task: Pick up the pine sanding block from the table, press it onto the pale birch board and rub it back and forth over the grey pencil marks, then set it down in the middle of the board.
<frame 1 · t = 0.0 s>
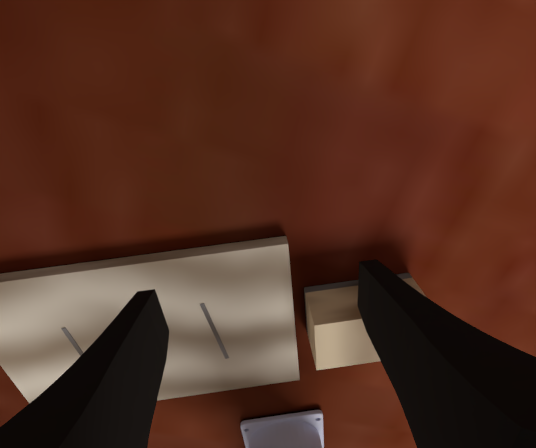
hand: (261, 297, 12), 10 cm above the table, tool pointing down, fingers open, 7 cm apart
sanding block: (354, 300, 27), on the table
birch board: (151, 331, 26), on the table
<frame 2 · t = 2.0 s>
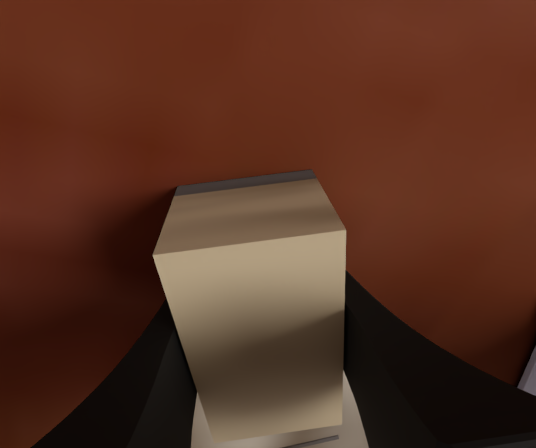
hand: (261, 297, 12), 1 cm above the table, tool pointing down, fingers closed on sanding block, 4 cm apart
sanding block: (258, 272, 13), on the table, touching gripper
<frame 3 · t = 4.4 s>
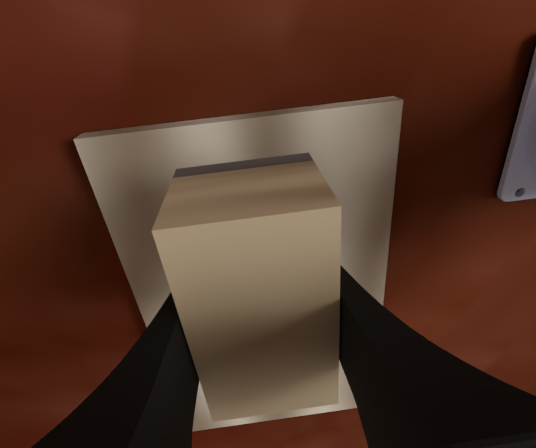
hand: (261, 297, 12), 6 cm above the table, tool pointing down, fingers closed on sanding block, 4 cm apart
sanding block: (256, 256, 13), point 5 cm above the table, touching gripper
birch board: (264, 298, 21), on the table
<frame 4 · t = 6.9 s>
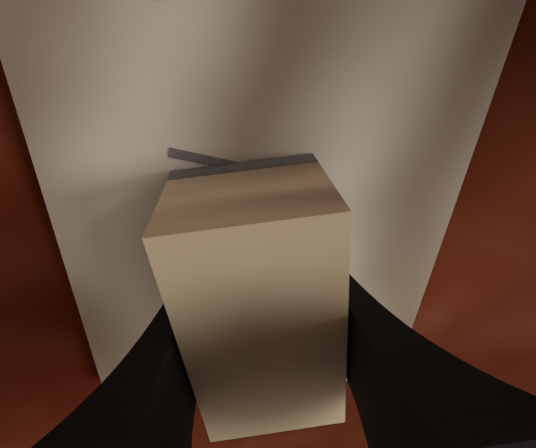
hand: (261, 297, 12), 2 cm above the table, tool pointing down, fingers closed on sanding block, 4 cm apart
sanding block: (256, 263, 13), point 1 cm above the table, touching gripper
birch board: (261, 158, 12), on the table
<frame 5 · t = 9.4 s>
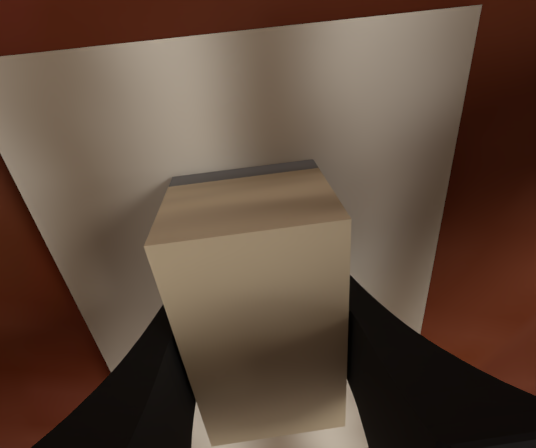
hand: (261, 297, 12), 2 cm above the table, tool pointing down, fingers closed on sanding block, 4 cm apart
sanding block: (257, 268, 13), point 1 cm above the table, touching gripper
birch board: (263, 310, 15), on the table
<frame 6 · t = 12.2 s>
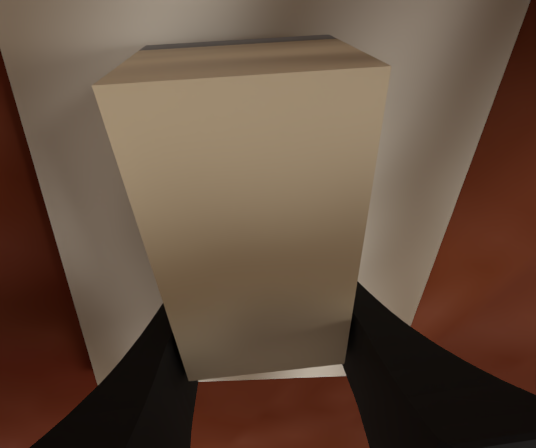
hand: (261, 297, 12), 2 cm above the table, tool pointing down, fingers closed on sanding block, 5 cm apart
sanding block: (250, 183, 11), point 1 cm above the table, tilted 6°, touching gripper
birch board: (263, 145, 12), on the table
when the fingers open (3 cm above the table, at t = 13.7 s): sanding block stays where it is, resting on birch board.
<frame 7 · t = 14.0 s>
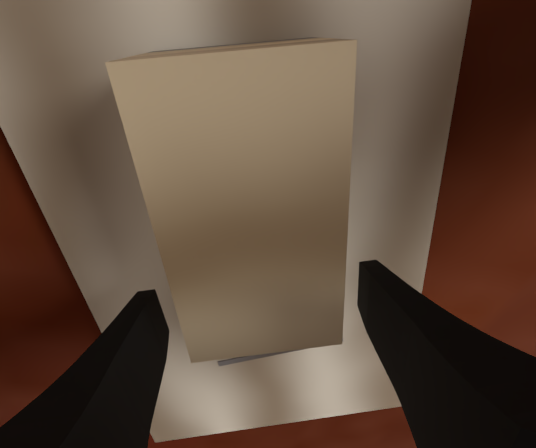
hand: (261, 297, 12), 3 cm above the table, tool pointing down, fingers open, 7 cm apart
sanding block: (248, 177, 11), point 1 cm above the table, touching birch board
birch board: (256, 253, 14), on the table
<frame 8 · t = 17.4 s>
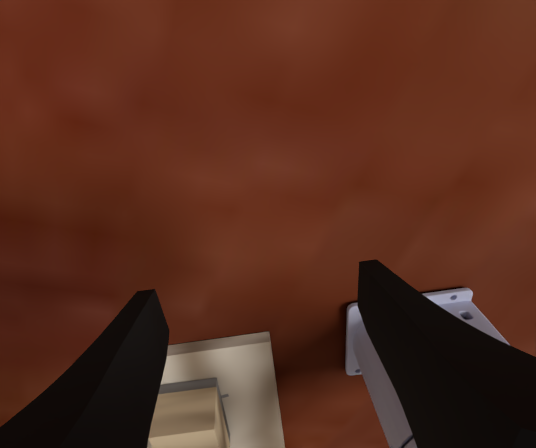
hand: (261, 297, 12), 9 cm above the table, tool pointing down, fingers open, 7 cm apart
sanding block: (197, 411, 29), point 1 cm above the table, touching birch board
birch board: (205, 424, 31), on the table
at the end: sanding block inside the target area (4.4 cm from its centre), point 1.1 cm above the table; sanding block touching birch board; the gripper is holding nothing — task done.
